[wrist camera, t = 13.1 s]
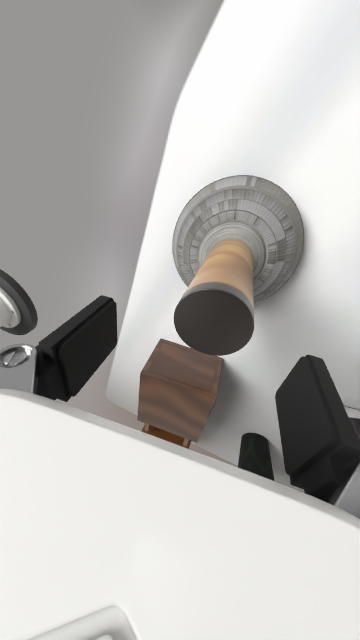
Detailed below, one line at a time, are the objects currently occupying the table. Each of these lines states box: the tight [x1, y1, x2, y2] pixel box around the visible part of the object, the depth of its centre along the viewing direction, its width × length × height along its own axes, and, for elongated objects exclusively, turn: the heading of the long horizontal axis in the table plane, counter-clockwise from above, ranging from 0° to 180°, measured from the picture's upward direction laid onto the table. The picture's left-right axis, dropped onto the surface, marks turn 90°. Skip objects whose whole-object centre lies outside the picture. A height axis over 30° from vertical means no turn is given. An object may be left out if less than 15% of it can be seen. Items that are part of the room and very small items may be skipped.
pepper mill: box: [174, 239, 254, 356], centre depth 17 cm, size 5×5×12 cm
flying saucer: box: [173, 175, 304, 303], centre depth 24 cm, size 15×15×6 cm
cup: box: [238, 433, 274, 481], centre depth 41 cm, size 8×8×12 cm
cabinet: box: [137, 339, 223, 443], centre depth 37 cm, size 14×12×9 cm
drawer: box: [142, 423, 191, 449], centre depth 43 cm, size 16×10×7 cm, turn 171°
